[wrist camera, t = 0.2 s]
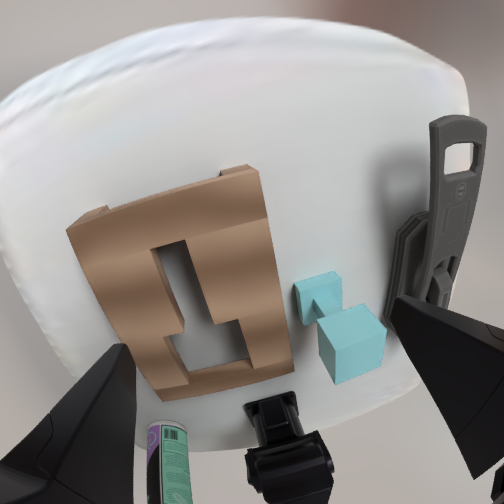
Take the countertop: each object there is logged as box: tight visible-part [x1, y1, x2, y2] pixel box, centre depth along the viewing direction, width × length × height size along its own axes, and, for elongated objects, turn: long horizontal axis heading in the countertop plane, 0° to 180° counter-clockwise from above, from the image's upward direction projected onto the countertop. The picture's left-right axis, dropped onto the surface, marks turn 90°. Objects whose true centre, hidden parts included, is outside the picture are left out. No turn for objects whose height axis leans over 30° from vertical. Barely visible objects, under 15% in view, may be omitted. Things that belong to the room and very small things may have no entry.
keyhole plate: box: [66, 164, 294, 402], centre depth 21 cm, size 18×13×4 cm
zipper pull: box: [384, 115, 487, 336], centre depth 22 cm, size 9×7×25 cm
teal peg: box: [294, 271, 387, 385], centre depth 22 cm, size 4×4×9 cm
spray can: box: [147, 420, 193, 504], centre depth 22 cm, size 6×6×20 cm
